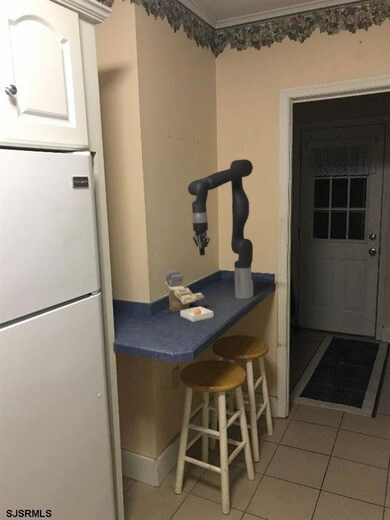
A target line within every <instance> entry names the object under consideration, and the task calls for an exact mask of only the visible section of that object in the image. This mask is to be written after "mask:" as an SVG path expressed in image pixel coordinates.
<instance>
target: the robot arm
mask: <svg viewBox="0 0 390 520" xmlns="http://www.w3.org/2000/svg"><path fill="white" fill-rule="evenodd" d="M253 166H254V165H253V163H252V161H250V160H249V159H244V158H243V159H235V160H233V161H232V162H231V163H230V165H229V168H227V169H224V170H220V171H216V172H215V173H212V174H209V175H207V176H206V177H203V178H199V179H196V180H194V181H191V182H190V183H189V184H188V187H187V192H188V193H189V195H191V196H196V198H195V200H194V201H192V203H191V208H192V209H191V210H192V211H191V212H192V214H191V215H192V218H191V219H192V231H193V232H195V233H194V236H192V239H193V241H194V242H193V243H194V244H195V246H196V247H198V249H199V250H198V251H199V256H205V255H206V252H205V251H206V249H205V248H207V247H208V245H209V243H210V241H211V238H210V237H208V233H207V231H208V230H209V222H208V214H207V201H208V196H209V195H208V193H209V191H211V190H214V189H217V188H219V187H221V186H223V185H225V184H227V183H229V182H231V199H232V201H231V211H232V212H231V214H232V218H231V219H232V224H231V225H232V231H231V242H230V243H231V244H230V245H231V246H230V247H231V251H232V252H233V253H234V254H236V255H238V259H237V260H235V262H234V265H233V266H234V296H235V298H236V299H239V300H246V299H251V298H252V297H254V281H253V279H252V262H253V260H254V258H253V256H254V255H253V254H254V247H253V242H252V241H251V240H250V239H249V238H245V236H244V235H245V234H244V233H245V226H246V223H247V222H248V218H249V216H250V201H249V197H248V195H247V194H246V192H245V189H244V186H243V178H246V177H249V176H250V175H251V174H252V173H253V170H254V167H253Z"/></svg>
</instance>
